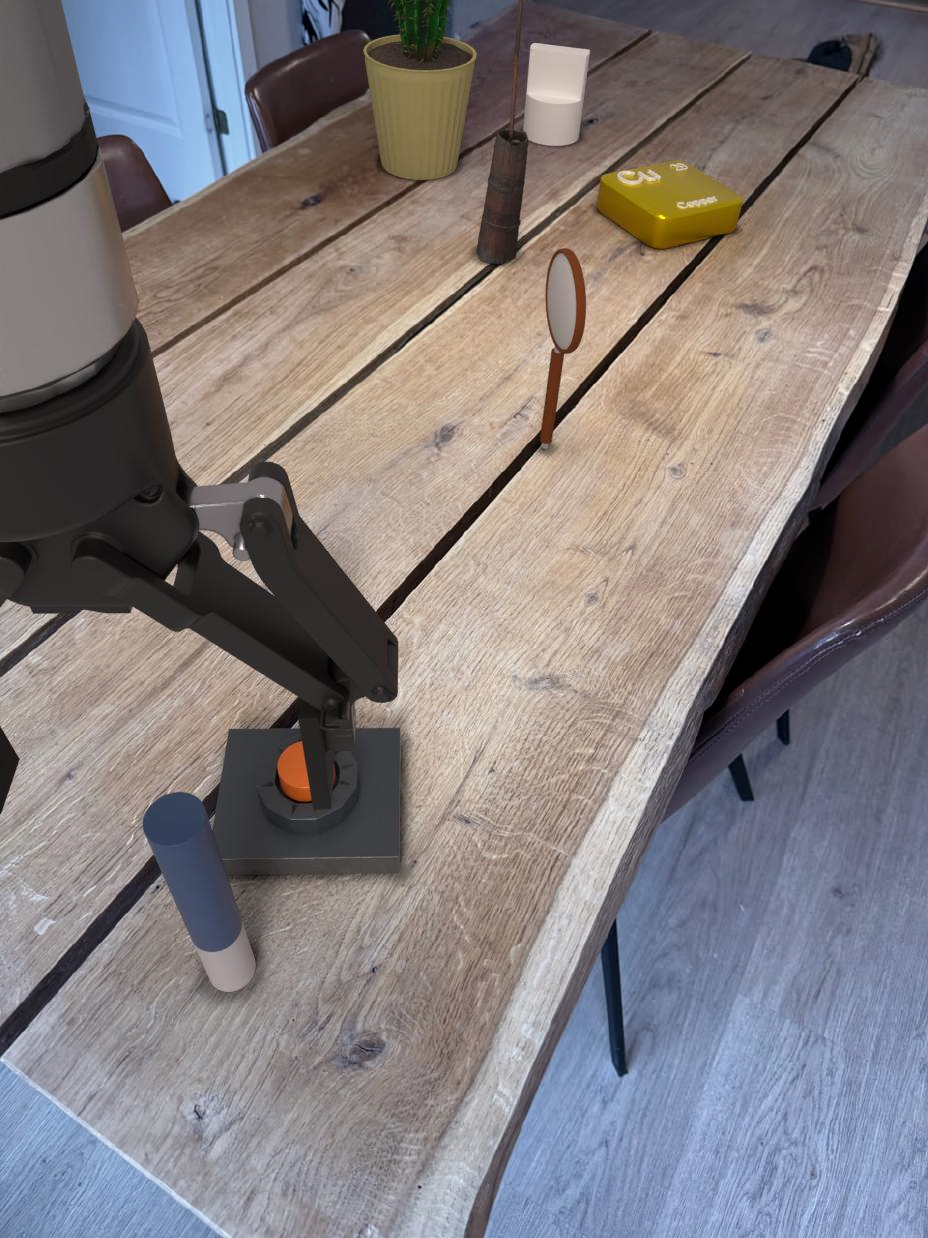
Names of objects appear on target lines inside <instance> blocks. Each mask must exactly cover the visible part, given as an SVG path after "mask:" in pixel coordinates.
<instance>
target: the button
mask: <svg viewBox="0 0 928 1238" xmlns="http://www.w3.org/2000/svg"><path fill="white" fill-rule="evenodd" d="M277 768H278V774H279V779H280V784H281V787H282V790H283V791H284V793H285V794H286V795H287V796H289V797H290V798H292V799H294V800H297V801H301V802H310V801H312V799H311V793H310V787H309V781H308V775H307V769H306V763H305V757H304V751H303V745H302V741H301V742H297V743H295V744H293V745H291V746H289V747H288V748H287V749H286V750H285V751H284V752H283V753H282V754H281V756H280V758H279V760H278V766H277ZM335 778H336V774H335V765H334V774H333V785H334V783H335Z"/></svg>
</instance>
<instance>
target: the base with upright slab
mask: <svg viewBox="0 0 928 1238" xmlns="http://www.w3.org/2000/svg"><path fill="white" fill-rule="evenodd" d="M590 54H591V49H587V48H579V47H572V46H571V47H570V46H563V45H554V44H547V43H540V42H539V43H538V42H533V43H532V44H531V45H530V47H529V55H528V57H529V58H528V66H527V67H528V68H527V81H526V92H525V103H524V112H523V113H524V114H523V115H524V116H523V127H522V132H523V131H525V132H526V133H527V137H528V141H530V142H532V143H535V144H538V145H543V146H548V147H549V146H551V147H562V146H563V147H564V146H568V145H572V144H574V143H576V142H578V140H579V139H580V132H581V123H582V117H583V116H582V115H583V107H584V100H585V94H586V93H585V92H586V84H587V77H588V70H589V62H590V56H591V55H590Z"/></svg>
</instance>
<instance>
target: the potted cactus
mask: <svg viewBox="0 0 928 1238" xmlns="http://www.w3.org/2000/svg"><path fill="white" fill-rule="evenodd" d="M391 1H393V2H392V3H391V6H390V9H392V8H393V6H394V5H395V8H396V10H394V14H395V15H391V17H395V18H393V20H392V21H391V23H392V22H394V21H395V20H396V19H398V26H397V28H399V29H397V30H395V33H397V32H398V31H399V34H393V35H386V36H382V37H379V38H376V39H373V40H371V41H369V42H368V43H367V44H365V45H364V48H363V55H364V63H365V69H366V74H367V81H368V87H369V94H370V100H371V106H372V113H373V119H374V126H375V131H376V137H377V138H376V139H377V145H378V152H379V157H380V163H381V166H382V168H383V170H385V171H386V172H387V173H389V174H391V175H393V176H396V177H398V178H401V179H406V180H415V181H429V180H436V179H441V178H445V177H448V176H450V175H451V174H453V173H454V172H455V171H456V170H457V167H458V162H459V155H460V151H461V145H462V139H463V134H464V133H463V132H464V127H465V122H466V116H467V111H468V110H467V109H468V104H469V99H470V92H471V86H472V80H473V76H474V69H475V65H476V63H475V62H476V59H477V51H476V49H475V48H474V47H472V45H470V44H468V43H466V42H463V41H461V40H458V39H455V38H451V37H447V36H445V35H446V34H447V35H448V33H449V34H450V31H449V30H448V29H446V28H447V27H446V26H447V23H448V22H450V21H451V22H452V20H451V19H450V17H448V9H449V12H453V13H455V11H454V10H452V9H450V6H449V5H450V4H451V3H453V1H452V0H389V1H388V3H390V2H391ZM381 2H383V0H381Z"/></svg>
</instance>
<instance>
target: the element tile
mask: <svg viewBox="0 0 928 1238" xmlns="http://www.w3.org/2000/svg"><path fill="white" fill-rule="evenodd" d="M743 204H744V198H743V196H742V195H740V194H739V192H738V193H737V192H736V191H734V190H733V189H731V188H730V187H728V186H726V185H725V184H723V183H721V182H719V181H718V180H716V179H714V178H713V177H711V176H709V175H707V174H706V173H705V172H703V171H701V170H700V169H698V168H696V167H694V166H693V165H691V164H690V163H688V162H685V161H683V160H680V159H674V160H668V161H663V162H659V163H653V164H649V165H642V166H637V167H633V168H629V169H624V170H618V171H614V172H613V171H612V172H608V173H605V174H603V175H602V176H600V180H599V186H598V192H597V200H596V208H597V210H598V212H600V213H601V214H602V215H604V216H605V217H607V218H608V219H610V220H611V221H612V222H613V223H615V224H617V225H618V226H619V227H621V228H622V229H624V230H625V231H626V232H628V233H629V234H631V235H632V236H633V237H634V238H636V239H637V240H639V241H640V242H641V243H643V244H644V245H646V246H647V247H650V248H652V249H658V250H664V249H670V248H674V247H679V246H682V245H686V244H691V243H694V242H699V241H703V240H707V239H711V238H715V237H719V236H720V237H721V236H723V235H728V234H731V233H733V232H734V231H735V230H736V229H737V226H738V222H739V218H740V215H741V211H742V207H743Z"/></svg>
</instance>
